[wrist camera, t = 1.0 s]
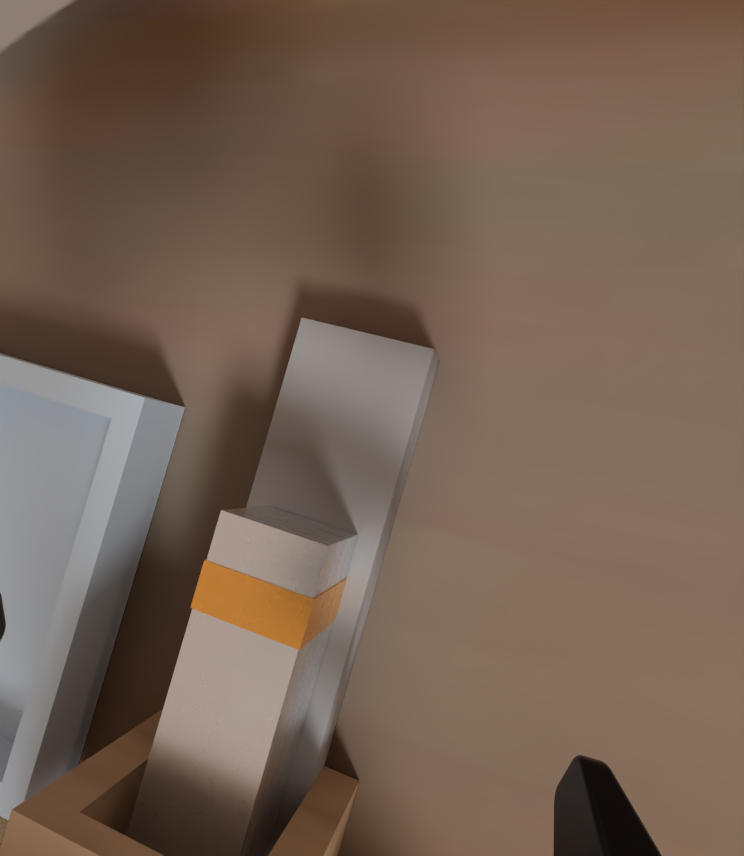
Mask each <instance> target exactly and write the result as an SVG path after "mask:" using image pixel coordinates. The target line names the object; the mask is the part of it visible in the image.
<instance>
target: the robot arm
mask: <svg viewBox="0 0 744 856" xmlns="http://www.w3.org/2000/svg"><path fill="white" fill-rule="evenodd" d="M5 628H6V621H5V614H4V608H3V602H2V596H1V593H0V641H1V639H2V637H3V635H4V632H5ZM554 856H662V855H661V854H660V852H659V850H658V849H657V847H656V845H655V844H654V842H653V840H652V838H651V837H650V835H649V833H648V832H647V830H646V828H645V827H644V825H643V823H642V822H641V820H640V818H639V816H638V815H637V813H636V811H635V810H634V808H633V806H632V805H631V803H630V801H629V800H628V798H627V796H626V794H625V793H624V791H623V789H622V788H621V786H620V784H619V783H618V781H617V779H616V778H615V776H614V774H613V772H612V771H611V769H610V768H609V767H608V765H606V764H605V763H604V762H602V761H600V760H596V759H593V758H589V757H586V756H582V755H578V756H576V757H575V758H574V759H573V760H572V762H571V764H570V765H569V767H568V769H567V771H566V772H565V774H564V776H563V777H562V779H561V781H560V782H559V784H558V786H557V789H556V793H555V800H554Z"/></svg>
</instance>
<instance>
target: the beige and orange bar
mask: <svg viewBox="0 0 744 856" xmlns="http://www.w3.org/2000/svg"><path fill="white" fill-rule="evenodd" d="M357 536H358V535H357V534H354V533H351V532H348V531H345V530H341V529H338V528H335V527H332V526H329V525H326V524H323V523H320V522H317V521H314V520H311V519H308V518H305V517H302V516H299V515H296V514H293V513H290V512H287V511H283V510H280V509H277V508H274V507H271V506H268V505H264V506H254V507H245V508H235V509H226V510H221V512H220V515H219V519H218V522H217V526H216V529H215V532H214V536H213V539H212V543H211V546H210V550H209V553H208V556H207V560H204V563H203V566H202V569H201V573H200V576H199V580H198V583H197V587H196V590H195V593H194V597H193V600H192V604H191V607H190V608H192V611H191V615H190V618H189V622H188V625H187V628H186V632H185V635H184V639H183V642H182V646H181V649H180V652H179V656H178V659H177V663H176V666H175V670H174V673H173V676H172V680H171V683H170V687H169V690H168V694H167V697H166V700H165V704H164V707H163V711H162V714H161V718H160V721H159V724H158V728H157V731H156V735H155V738H154V742H153V745H152V748H151V752H150V755H149V759H148V762H147V765H146V769H145V772H144V776H143V779H142V783H141V786H140V789H139V793H138V796H137V800H136V803H135V807H134V810H133V813H132V817H131V820H130V824H129V827H128V831H127V834H126V836H127V837H129V838H131V839H133V840H135V841H137V842H139V843H141V844H143V845H145V846H147V847H149V848H151V849H153V850H155V851H156V852H158V853H160V854H162V855H164V856H264V855H265V853H266V851H267V850H268V848H269V844H270V841H271V837H272V834H273V830H274V827H275V823H276V820H277V816H278V813H279V809H280V806H281V802H282V799H283V795H284V792H285V788H286V785H287V781H288V778H289V774H290V771H291V767H292V764H293V760H294V757H295V753H296V750H297V746H298V743H299V739H300V736H301V732H302V729H303V725H304V722H305V718H306V715H307V711H308V708H309V704H310V701H311V697H312V694H313V690H314V687H315V683H316V680H317V676H318V672H319V669H320V665H321V662H322V658H323V655H324V651H325V648H326V644H327V641H328V637H329V634H330V630H331V627H332V623H333V622H334V621H335V619H336V615H337V612H338V608H339V605H340V601H341V598H342V594H343V591H344V587H345V584H346V580H347V579H346V574H347V571H348V567H349V564H350V560H351V557H352V553H353V550H354V546H355V543H356V539H357Z"/></svg>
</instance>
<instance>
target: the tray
mask: <svg viewBox="0 0 744 856" xmlns="http://www.w3.org/2000/svg"><path fill="white" fill-rule="evenodd" d="M184 409H185V407H182V406H179V405H175V404H172V403H169V402H165V401H162V400H158V399H155V398H152V397H148V396H145V395H141V394H138V393H135V392H131V391H128V390H124V389H121V388H118V387H114V386H111V385H107V384H104V383H101V382H97V381H94V380H90V379H87V378H83V377H80V376H77V375H73V374H70V373H66V372H63V371H60V370H56V369H53V368H49V367H46V366H43V365H39V364H36V363H32V362H29V361H26V360H22V359H19V358H15V357H12V356H9V355H5V354H2V353H0V593H1V596H2V602H3V608H4V614H5V621H6V628H5V632H4V635H3V637H2V639H1V641H0V816H1V817H3V818H5V819H7V820H9V817H10V813H11V810H12V809H13V808H15V807H16V806H18V805H19V804H21V803H22V802H24V801H25V800H27V799H28V798H30V797H31V796H33V795H34V794H36V793H37V792H39V791H40V790H42V789H43V788H45V787H46V786H48V785H49V784H51V783H52V782H54V781H55V780H57V779H58V778H60V777H61V776H63V775H64V774H66V773H67V772H69V771H70V770H72V769H73V768H75V767H76V766H78V765H79V762H80V758H81V755H82V752H83V748H84V745H85V741H86V738H87V735H88V731H89V728H90V725H91V721H92V718H93V715H94V711H95V708H96V705H97V701H98V698H99V695H100V691H101V688H102V684H103V681H104V678H105V674H106V671H107V668H108V664H109V661H110V658H111V654H112V651H113V648H114V644H115V641H116V638H117V634H118V631H119V627H120V624H121V621H122V617H123V614H124V611H125V607H126V604H127V601H128V597H129V594H130V591H131V587H132V584H133V581H134V577H135V574H136V570H137V567H138V564H139V560H140V557H141V554H142V550H143V547H144V544H145V540H146V537H147V534H148V530H149V527H150V524H151V520H152V517H153V513H154V510H155V507H156V503H157V500H158V497H159V493H160V490H161V487H162V483H163V480H164V477H165V473H166V470H167V466H168V463H169V460H170V456H171V453H172V450H173V446H174V443H175V440H176V436H177V433H178V430H179V426H180V423H181V420H182V416H183V413H184Z"/></svg>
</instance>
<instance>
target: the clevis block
mask: <svg viewBox="0 0 744 856" xmlns="http://www.w3.org/2000/svg"><path fill="white" fill-rule="evenodd" d="M439 361H440V360H439V358H438V356H437V354H436V352H435V350H434V349H432V348H428V347H424V346H419V345H415V344H411V343H407V342H403V341H398V340H394V339H390V338H386V337H382V336H377V335H373V334H369V333H365V332H361V331H356V330H352V329H348V328H344V327H340V326H335V325H331V324H327V323H323V322H319V321H314V320H310V319H306V318H301V322H300V325H299V328H298V332H297V335H296V339H295V342H294V346H293V349H292V352H291V356H290V359H289V363H288V366H287V369H286V373H285V376H284V380H283V383H282V386H281V390H280V393H279V397H278V400H277V404H276V407H275V410H274V414H273V417H272V421H271V424H270V427H269V431H268V434H267V438H266V441H265V444H264V448H263V451H262V455H261V458H260V462H259V465H258V468H257V472H256V475H255V479H254V482H253V485H252V489H251V492H250V496H249V499H248V502H247V506H246V507H254V506H264V505H268V506H271V507H274V508H277V509H280V510H283V511H287V512H290V513H293V514H296V515H299V516H302V517H305V518H308V519H311V520H314V521H317V522H320V523H323V524H326V525H329V526H332V527H335V528H338V529H341V530H345V531H348V532H351V533H354V534H357V535H358V536H357V539H356V543H355V546H354V550H353V553H352V557H351V560H350V564H349V567H348V571H347V574H346V579H347V580H346V584H345V587H344V591H343V594H342V598H341V601H340V605H339V608H338V612H337V615H336V619H335V621H334V622H333V623H332V627H331V630H330V634H329V637H328V641H327V644H326V648H325V651H324V655H323V658H322V662H321V665H320V669H319V672H318V676H317V680H316V683H315V687H314V690H313V694H312V697H311V701H310V704H309V708H308V711H307V715H306V718H305V722H304V725H303V729H302V732H301V736H300V739H299V743H298V746H297V750H296V753H295V757H294V760H293V764H292V767H291V771H290V774H289V778H288V781H287V785H286V788H285V792H284V795H283V799H282V802H281V806H280V809H279V813H278V816H277V820H276V823H275V827H274V830H273V834H272V837H271V841H270V844H269V848H268V850H267V851H266V853H265V855H264V856H338V854H339V851H340V847H341V844H342V840H343V836H344V833H345V829H346V826H347V822H348V819H349V815H350V812H351V808H352V805H353V801H354V798H355V794H356V790H357V787H358V783H359V781H358V780H356V779H354V778H351V777H349V776H347V775H344V774H342V773H340V772H338V771H335V770H333V769H331V768H328V767H326V766H324V765H325V762H326V758H327V755H328V751H329V748H330V744H331V741H332V737H333V734H334V730H335V727H336V723H337V720H338V716H339V713H340V709H341V706H342V702H343V698H344V695H345V691H346V688H347V684H348V681H349V677H350V674H351V670H352V667H353V663H354V660H355V656H356V653H357V649H358V646H359V642H360V639H361V635H362V632H363V628H364V625H365V621H366V618H367V614H368V611H369V607H370V604H371V600H372V597H373V593H374V590H375V586H376V582H377V579H378V575H379V572H380V568H381V565H382V561H383V558H384V554H385V551H386V547H387V544H388V540H389V537H390V533H391V530H392V526H393V523H394V519H395V516H396V512H397V509H398V505H399V502H400V498H401V495H402V491H403V488H404V484H405V481H406V477H407V474H408V470H409V466H410V463H411V459H412V456H413V452H414V449H415V445H416V442H417V438H418V435H419V431H420V428H421V424H422V421H423V417H424V414H425V410H426V407H427V403H428V400H429V396H430V393H431V389H432V386H433V382H434V379H435V375H436V372H437V368H438V365H439ZM162 711H163V709H162V710H160V711H159V712H157V713H156V714H154V715H153V716H151V717H150V718H148V719H147V720H145V721H144V722H142V723H141V724H139V725H138V726H136V727H135V728H133V729H132V730H130V731H129V732H127V733H126V734H124V735H123V736H121V737H120V738H118V739H117V740H115V741H114V742H112V743H111V744H109V745H108V746H106V747H105V748H103V749H102V750H100V751H99V752H97V753H96V754H94V755H93V756H91V757H90V758H88V759H87V760H85V761H84V762H82V763H81V764H79V765H78V766H76V767H75V768H73V769H72V770H70V771H69V772H67V773H66V774H64V775H63V776H61V777H60V778H58V779H57V780H55V781H54V782H52V783H51V784H49V785H48V786H46V787H45V788H43V789H42V790H40V791H39V792H37V793H36V794H34V795H33V796H31V797H30V798H28V799H27V800H25V801H24V802H22V803H21V804H19V805H18V806H16V807H15V808H13V809H12V810H11V813H10V817H9V820H8V823H7V827H6V830H5V833H4V837H3V840H2V843H1V847H0V856H164V855H162V854H160V853H158V852H156V851H155V850H153V849H151V848H149V847H147V846H145V845H143V844H141V843H139V842H137V841H135V840H133V839H131V838H129V837H127V836H126V834H127V831H128V827H129V824H130V820H131V817H132V813H133V810H134V807H135V803H136V800H137V796H138V793H139V789H140V786H141V783H142V779H143V776H144V772H145V769H146V765H147V762H148V759H149V755H150V752H151V748H152V745H153V742H154V738H155V735H156V731H157V728H158V724H159V721H160V718H161V714H162Z"/></svg>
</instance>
